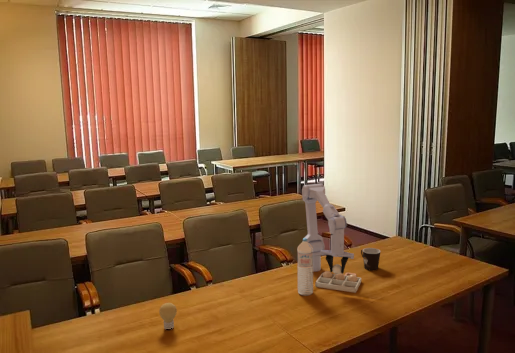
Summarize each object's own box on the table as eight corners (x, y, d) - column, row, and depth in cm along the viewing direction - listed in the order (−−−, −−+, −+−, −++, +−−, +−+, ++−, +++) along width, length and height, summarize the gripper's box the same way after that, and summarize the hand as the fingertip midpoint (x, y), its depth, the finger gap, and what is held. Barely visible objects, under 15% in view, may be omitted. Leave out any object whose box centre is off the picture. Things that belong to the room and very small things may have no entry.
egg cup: (342, 279, 208) (343, 276, 208) (345, 275, 213) (345, 271, 213) (354, 281, 206) (354, 277, 205) (357, 276, 211) (357, 273, 210)
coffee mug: (382, 273, 214) (382, 253, 212) (364, 273, 214) (364, 253, 213) (376, 264, 226) (376, 245, 224) (359, 264, 226) (359, 246, 224)
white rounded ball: (331, 275, 196) (331, 265, 195) (333, 271, 200) (333, 262, 199) (340, 276, 194) (340, 266, 193) (343, 272, 198) (343, 263, 197)
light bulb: (170, 322, 171) (168, 298, 170) (181, 327, 167) (179, 302, 166) (157, 329, 166) (155, 304, 165) (167, 334, 162) (166, 309, 161)
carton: (315, 288, 199) (315, 277, 198) (322, 278, 210) (322, 268, 209) (355, 294, 191) (355, 283, 190) (361, 283, 202) (361, 273, 202)
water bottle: (295, 294, 193) (294, 240, 189) (301, 288, 199) (300, 235, 195) (309, 297, 190) (309, 242, 186) (315, 291, 196) (315, 237, 192)
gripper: (318, 243, 193) (318, 273, 196) (351, 247, 188) (351, 277, 190) (323, 239, 200) (323, 267, 202) (355, 242, 194) (354, 271, 196)
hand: (337, 272), depth 196 cm, fingers closed on white rounded ball, 4 cm apart
